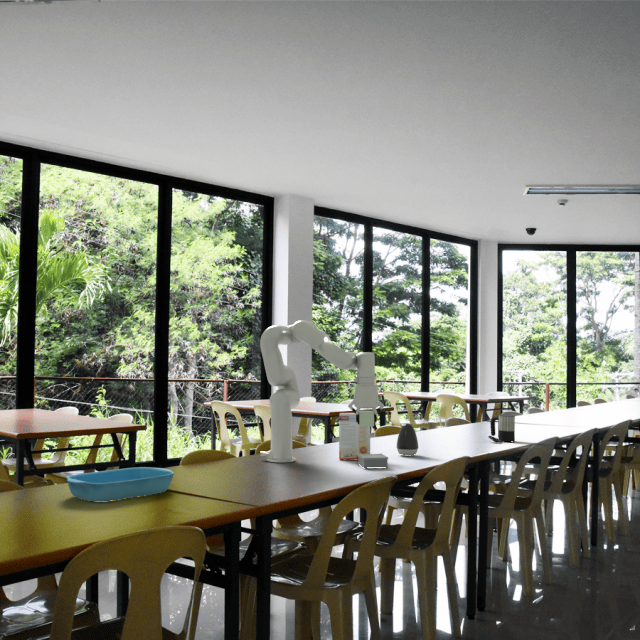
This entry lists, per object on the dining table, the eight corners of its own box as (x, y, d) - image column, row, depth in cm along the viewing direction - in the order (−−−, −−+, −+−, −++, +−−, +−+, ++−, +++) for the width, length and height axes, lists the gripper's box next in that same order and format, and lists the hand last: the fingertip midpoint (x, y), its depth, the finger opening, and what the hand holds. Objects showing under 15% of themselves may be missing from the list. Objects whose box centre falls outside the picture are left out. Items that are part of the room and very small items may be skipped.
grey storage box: (363, 470, 283) (363, 457, 283) (357, 465, 293) (357, 454, 293) (388, 469, 285) (388, 457, 285) (381, 465, 295) (381, 453, 295)
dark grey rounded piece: (421, 455, 325) (421, 423, 325) (413, 458, 315) (414, 424, 316) (401, 453, 329) (401, 421, 330) (393, 456, 320) (393, 423, 321)
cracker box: (370, 459, 311) (370, 412, 312) (370, 461, 305) (370, 413, 306) (339, 458, 312) (340, 412, 313) (338, 460, 306) (339, 413, 307)
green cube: (359, 426, 287) (359, 412, 287) (358, 425, 293) (358, 411, 293) (374, 426, 287) (373, 412, 287) (372, 425, 293) (372, 410, 293)
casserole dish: (148, 483, 249) (148, 463, 249) (186, 491, 234) (186, 470, 235) (51, 498, 221) (52, 476, 221) (88, 509, 207) (89, 485, 207)
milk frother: (515, 441, 383) (515, 414, 384) (514, 444, 368) (514, 416, 369) (489, 439, 387) (489, 413, 388) (487, 443, 372) (487, 415, 373)
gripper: (346, 381, 287) (346, 424, 286) (387, 381, 287) (387, 424, 286) (345, 381, 294) (345, 423, 293) (385, 380, 295) (385, 422, 294)
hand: (366, 423), depth 290 cm, fingers closed on green cube, 6 cm apart
